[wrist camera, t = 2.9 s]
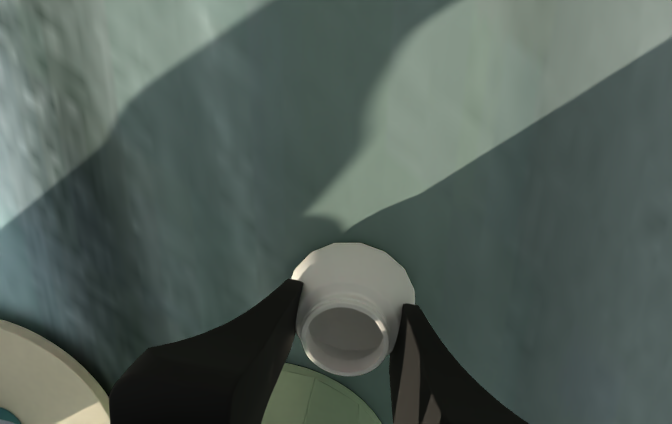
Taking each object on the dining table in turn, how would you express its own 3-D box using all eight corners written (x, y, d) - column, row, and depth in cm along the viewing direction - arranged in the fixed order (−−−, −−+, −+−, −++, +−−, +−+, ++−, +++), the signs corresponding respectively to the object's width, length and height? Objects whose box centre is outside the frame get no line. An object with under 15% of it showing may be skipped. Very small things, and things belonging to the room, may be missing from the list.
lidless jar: (270, 264, 16) (324, 357, 17) (246, 305, 13) (313, 412, 14) (383, 219, 15) (432, 323, 16) (382, 253, 12) (442, 376, 13)
